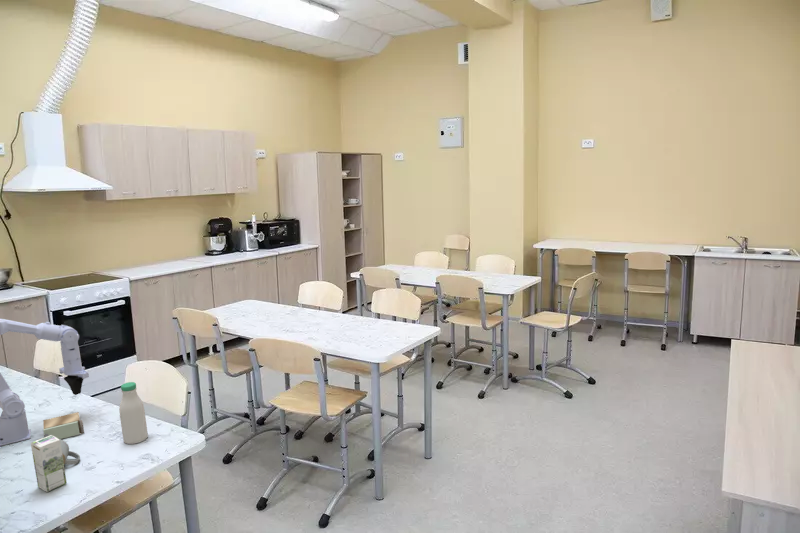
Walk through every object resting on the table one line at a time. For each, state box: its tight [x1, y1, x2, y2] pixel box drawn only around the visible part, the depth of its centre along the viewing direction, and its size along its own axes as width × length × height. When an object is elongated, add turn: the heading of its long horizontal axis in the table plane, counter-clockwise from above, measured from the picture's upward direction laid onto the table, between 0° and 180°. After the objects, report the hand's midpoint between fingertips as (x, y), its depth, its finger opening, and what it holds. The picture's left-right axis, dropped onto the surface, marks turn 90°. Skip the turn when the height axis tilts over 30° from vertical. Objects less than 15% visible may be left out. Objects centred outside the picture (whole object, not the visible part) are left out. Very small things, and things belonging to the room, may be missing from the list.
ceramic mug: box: [59, 439, 81, 466], centre depth 183 cm, size 11×8×8 cm
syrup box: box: [30, 435, 67, 493], centre depth 171 cm, size 6×6×14 cm
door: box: [42, 421, 81, 440], centre depth 201 cm, size 10×2×5 cm, turn 121°
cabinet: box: [43, 411, 85, 435], centre depth 206 cm, size 12×9×5 cm
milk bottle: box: [119, 381, 148, 445], centre depth 197 cm, size 8×8×20 cm
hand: (77, 393), depth 216 cm, fingers closed
